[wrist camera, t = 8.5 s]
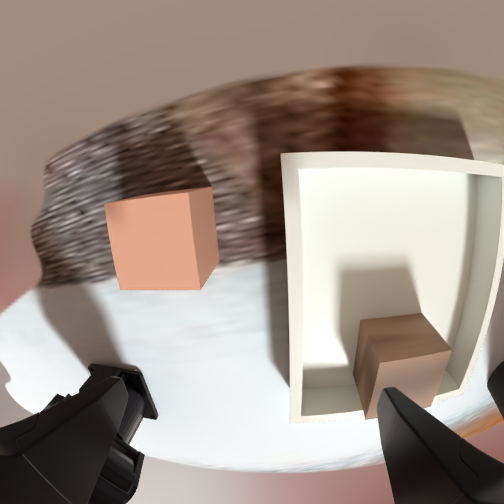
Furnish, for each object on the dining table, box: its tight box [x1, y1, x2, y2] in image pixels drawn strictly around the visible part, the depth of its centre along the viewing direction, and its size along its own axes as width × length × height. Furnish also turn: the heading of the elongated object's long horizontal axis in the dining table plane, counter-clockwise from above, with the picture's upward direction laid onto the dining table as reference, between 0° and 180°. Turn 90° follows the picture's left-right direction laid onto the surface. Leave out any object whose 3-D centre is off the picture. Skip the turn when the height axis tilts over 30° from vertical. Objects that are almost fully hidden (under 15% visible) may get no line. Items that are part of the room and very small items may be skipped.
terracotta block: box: [104, 187, 220, 290], centre depth 16 cm, size 5×5×5 cm
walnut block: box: [353, 313, 452, 420], centre depth 16 cm, size 5×5×5 cm
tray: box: [281, 152, 504, 423], centre depth 16 cm, size 18×15×4 cm
